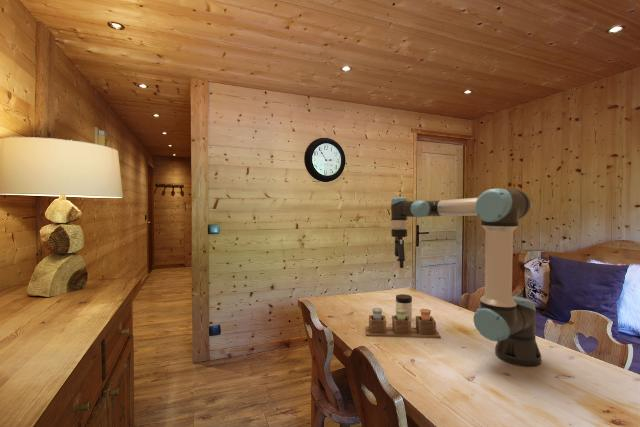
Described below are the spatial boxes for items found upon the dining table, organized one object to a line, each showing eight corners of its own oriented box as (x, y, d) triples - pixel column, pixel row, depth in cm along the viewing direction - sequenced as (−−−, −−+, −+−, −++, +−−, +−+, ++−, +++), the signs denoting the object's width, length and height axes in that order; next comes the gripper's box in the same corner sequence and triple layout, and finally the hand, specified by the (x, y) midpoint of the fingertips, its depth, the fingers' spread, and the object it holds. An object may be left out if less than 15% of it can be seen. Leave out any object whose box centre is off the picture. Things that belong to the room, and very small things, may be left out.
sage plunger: (407, 326, 146) (407, 311, 146) (396, 326, 146) (396, 311, 146) (405, 322, 150) (405, 308, 150) (395, 322, 151) (395, 308, 151)
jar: (415, 319, 166) (415, 296, 166) (406, 323, 161) (406, 299, 161) (401, 315, 173) (401, 293, 173) (392, 318, 168) (392, 295, 168)
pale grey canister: (382, 325, 147) (382, 311, 147) (372, 325, 148) (372, 310, 147) (381, 322, 152) (381, 307, 151) (372, 321, 152) (372, 307, 152)
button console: (440, 338, 142) (440, 323, 141) (366, 336, 145) (365, 321, 145) (435, 329, 152) (435, 315, 151) (365, 327, 155) (365, 314, 155)
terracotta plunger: (431, 326, 145) (431, 312, 144) (421, 326, 145) (421, 311, 145) (429, 323, 149) (429, 308, 149) (419, 323, 150) (419, 308, 150)
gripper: (411, 230, 143) (411, 277, 144) (403, 227, 168) (403, 267, 168) (394, 230, 144) (394, 277, 145) (389, 227, 169) (389, 267, 169)
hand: (399, 271), depth 156 cm, fingers open, 13 cm apart
